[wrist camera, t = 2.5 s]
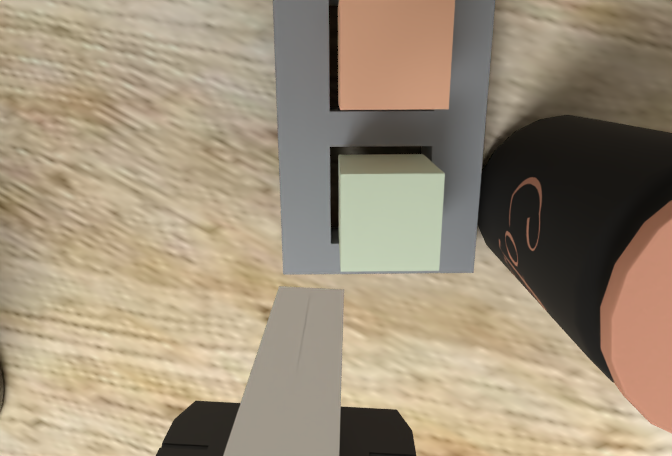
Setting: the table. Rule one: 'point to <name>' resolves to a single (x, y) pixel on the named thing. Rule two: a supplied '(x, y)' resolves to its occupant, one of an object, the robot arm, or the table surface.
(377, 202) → the sage button
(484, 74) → the slate panel
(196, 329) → the table surface
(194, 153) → the table surface
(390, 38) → the terracotta button
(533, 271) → the coffee jar
